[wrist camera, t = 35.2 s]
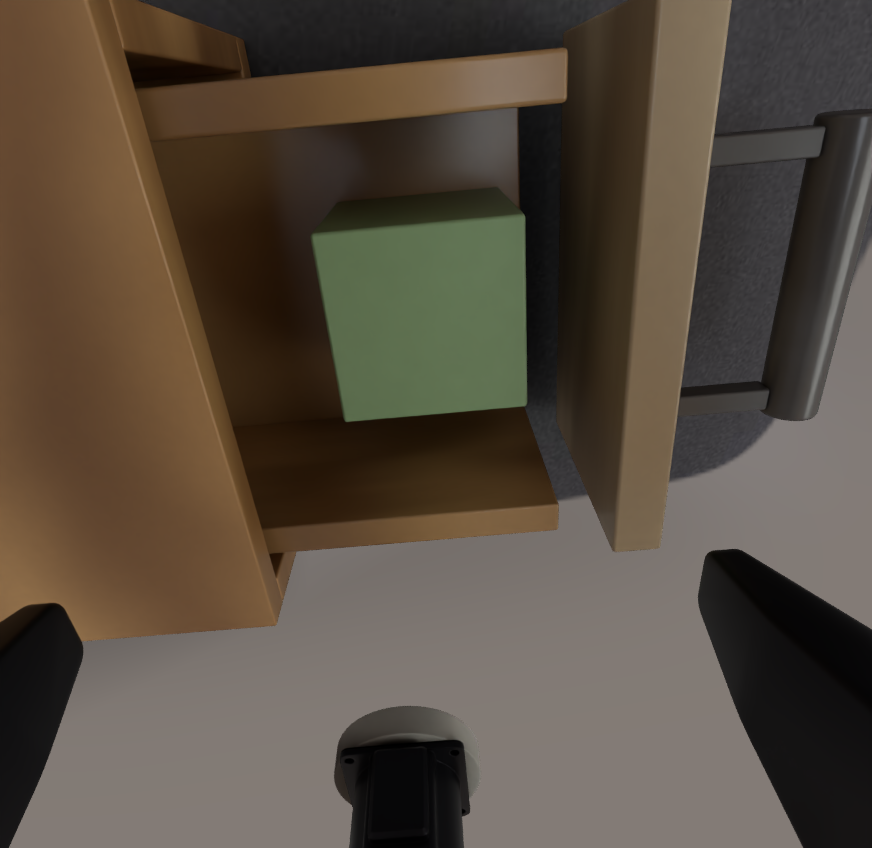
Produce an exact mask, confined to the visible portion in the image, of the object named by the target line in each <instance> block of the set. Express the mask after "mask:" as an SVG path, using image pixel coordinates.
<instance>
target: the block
mask: <svg viewBox="0 0 872 848" xmlns="http://www.w3.org/2000/svg"><path fill="white" fill-rule="evenodd" d="M310 238H311V244H312V249H313V255H314V260H315V266H316V271H317V277H318V282H319V287H320V293H321V298H322V304H323V309H324V315H325V320H326V326H327V331H328V337H329V342H330V347H331V353H332V358H333V364H334V369H335V375H336V380H337V386H338V391H339V397H340V402H341V408H342V413H343V418H344V420H345V421H346V422H351V421H363V420H374V419H385V418H397V417H408V416H420V415H431V414H443V413H454V412H465V411H477V410H488V409H500V408H511V407H523V406H526V405H527V330H526V235H525V215H524V214H523V213H522V212H521V211H520V210H519V209H518V207H517V206H516V205H515V204H514V203H513V202H512V201H511V200H510V199H509V198H508V197H507V196H506V195H505V194H504V193H503V192H502V191H501V190H500V189H499V188H498V187H492V188H482V189H471V190H461V191H450V192H439V193H429V194H418V195H407V196H397V197H386V198H376V199H365V200H354V201H344V202H338V203H336V204H335V206H334V207H333V208H332V209H331V210H330V212H329V213H328V214H327V215H326V217H325V218H324V219H323V220H322V221H321V223H320V224H319V225H318V226H317V227H316V229H315V230H314V231H313V232H312V234H311V237H310Z"/></svg>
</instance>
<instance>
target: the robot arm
mask: <svg viewBox="0 0 872 848" xmlns="http://www.w3.org/2000/svg"><path fill="white" fill-rule="evenodd" d="M698 603H699V608H700V612H701V615H702V618H703V620H704V623H705V626H706V629H707V631H708V634H709V636H710V639H711V642H712V645H713V647H714V650H715V653H716V656H717V658H718V661H719V664H720V667H721V669H722V672H723V675H724V677H725V680H726V683H727V686H728V688H729V691H730V694H731V696H732V699H733V702H734V704H735V706H736V709H737V712H738V714H739V717H740V719H741V721H742V723H743V726H744V728H745V730H746V732H747V734H748V737H749V738H750V741H751V743H752V745H753V747H754V749H755V750H756V752H757V755H758V757H759V759H760V761H761V763H762V765H763V767H764V769H765V771H766V773H767V775H768V777H769V779H770V781H771V783H772V785H773V787H774V789H775V791H776V793H777V795H778V797H779V800H780V801H781V803H782V806H783V808H784V810H785V812H786V814H787V816H788V818H789V820H790V822H791V824H792V826H793V828H794V830H795V832H796V834H797V836H798V838H799V840H800V842H801V844H802V846H803V848H872V629H870V628H868V627H867V626H865V625H864V624H862V623H860V622H859V621H857V620H855V619H854V618H852V617H850V616H849V615H847V614H845V613H844V612H842V611H840V610H839V609H837V608H836V607H834V606H832V605H831V604H829V603H827V602H826V601H824V600H822V599H821V598H819V597H818V596H816V595H814V594H813V593H811V592H809V591H808V590H806V589H804V588H803V587H801V586H799V585H798V584H796V583H794V582H793V581H791V580H790V579H788V578H786V577H785V576H783V575H781V574H780V573H778V572H776V571H775V570H773V569H772V568H770V567H768V566H767V565H765V564H763V563H762V562H760V561H758V560H757V559H755V558H753V557H752V556H750V555H749V554H747V553H745V552H743V551H741V550H738V549H728V550H715V551H711V552H709V553H708V554H707V555H706V557H705V560H704V565H703V571H702V576H701V582H700V587H699V593H698ZM82 658H83V645H82V641H81V639H80V637H79V635H78V633H77V631H76V629H75V628H74V626H73V624H72V622H71V620H70V618H69V616H68V614H67V612H66V610H65V609H64V607H62V606H61V605H60V604H58V603H42V604H31V605H27V606H25V607H23V608H21V609H19V610H18V611H16V612H15V613H13V614H12V615H10V616H9V617H7V618H6V619H4V620H3V621H1V622H0V848H9V846H10V844H11V841H12V839H13V837H14V835H15V833H16V831H17V828H18V826H19V824H20V822H21V819H22V817H23V815H24V813H25V810H26V809H27V806H28V804H29V802H30V800H31V798H32V795H33V793H34V791H35V788H36V786H37V784H38V782H39V779H40V777H41V774H42V772H43V770H44V767H45V764H46V762H47V759H48V756H49V754H50V751H51V748H52V746H53V742H54V740H55V737H56V734H57V731H58V728H59V726H60V723H61V720H62V717H63V714H64V711H65V708H66V705H67V702H68V700H69V697H70V694H71V691H72V688H73V685H74V682H75V679H76V677H77V674H78V671H79V668H80V665H81V662H82ZM340 763H341V767H342V770H343V774H344V778H345V781H346V785H347V789H348V792H349V796H350V800H351V803H352V807H353V813H352V824H351V835H350V845H349V848H464V842H463V826H462V816H465V815H467V814H469V813H470V803H469V793H468V783H467V773H466V763H465V753H464V744H463V742H461V741H459V740H443V741H430V742H417V743H404V744H391V745H378V746H365V747H352V748H345V749H343V750H342V751H341V757H340Z"/></svg>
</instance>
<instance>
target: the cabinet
mask: <svg viewBox="0 0 872 848" xmlns="http://www.w3.org/2000/svg"><path fill="white" fill-rule="evenodd" d="M243 78H251V74H250V69H249V64H248V59H247V54H246V49H245V44H244V41H243V39H241V38H238V37H236V36H233V35H230V34H227V33H225V32H222V31H219V30H217V29H214V28H211V27H208V26H206V25H203V24H200V23H198V22H195V21H192V20H189V19H187V18H184V17H181V16H179V15H176V14H173V13H170V12H168V11H165V10H162V9H160V8H157V7H154V6H151V5H149V4H146V3H143V2H141V1H138V0H0V622H1V621H3V620H4V619H6V618H7V617H9V616H10V615H12V614H13V613H15V612H16V611H18V610H19V609H21V608H23V607H25V606H27V605H31V604H42V603H58V604H60V605H61V606H62V607H64V609H65V610H66V612H67V614H68V616H69V618H70V620H71V622H72V624H73V626H74V628H75V629H76V631H77V633H78V635H79V637H80V639H81V641H92V640H104V639H117V638H127V637H128V638H129V637H141V636H154V635H165V634H179V633H190V632H203V631H216V630H228V629H240V628H253V627H265V626H275V625H276V624H277V621H278V617H279V613H280V610H281V606H282V602H283V601H282V600H283V599H284V595H285V591H286V588H287V584H288V580H289V577H290V573H291V569H292V566H293V562H294V558H295V554H296V552H284V553H271V554H269V552H268V549H267V546H266V542H265V539H264V535H263V532H262V528H261V525H260V521H259V518H258V514H257V511H256V507H255V504H254V501H253V497H252V494H251V490H250V487H249V483H248V480H247V476H246V473H245V469H244V466H243V462H242V459H241V455H240V452H239V449H238V445H237V442H236V438H235V435H234V431H233V428H232V424H231V421H230V417H229V414H228V410H227V407H226V403H225V400H224V397H223V393H222V390H221V386H220V383H219V379H218V376H217V372H216V369H215V365H214V362H213V358H212V355H211V351H210V348H209V345H208V341H207V338H206V334H205V331H204V327H203V324H202V320H201V317H200V313H199V310H198V306H197V303H196V300H195V296H194V293H193V289H192V286H191V282H190V279H189V275H188V272H187V268H186V265H185V261H184V258H183V254H182V251H181V248H180V244H179V241H178V237H177V234H176V230H175V227H174V223H173V220H172V216H171V213H170V209H169V206H168V202H167V199H166V196H165V192H164V189H163V185H162V182H161V178H160V175H159V171H158V168H157V164H156V161H155V157H154V154H153V150H152V147H151V144H150V140H149V137H148V133H147V130H146V126H145V123H144V119H143V116H142V112H141V109H140V105H139V102H138V99H137V95H136V92H135V89H139V88H150V87H160V86H170V85H181V84H191V83H201V82H212V81H222V80H232V79H243Z"/></svg>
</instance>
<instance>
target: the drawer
mask: <svg viewBox="0 0 872 848" xmlns="http://www.w3.org/2000/svg"><path fill="white" fill-rule="evenodd" d="M731 2H732V0H628V1H626V2H624V3H622V4H620V5H618V6H616V7H614V8H612V9H609V10H607V11H605V12H603V13H601V14H599V15H597V16H595V17H593V18H591V19H589V20H587V21H585V22H583V23H581V24H579V25H577V26H575V27H573V28H571V29H569V30H567V31H565V32H564V34H563V48H552V49H542V50H532V51H521V52H511V53H501V54H490V55H480V56H470V57H459V58H449V59H439V60H428V61H418V62H408V63H398V64H387V65H377V66H367V67H356V68H346V69H336V70H325V71H315V72H305V73H294V74H284V75H274V76H263V77H253V78H243V79H232V80H222V81H212V82H201V83H191V84H181V85H170V86H160V87H150V88H139V89H135V92H136V95H137V99H138V102H139V105H140V109H141V112H142V116H143V119H144V123H145V126H146V130H147V133H148V137H149V140H150V144H151V147H152V150H153V154H154V157H155V161H156V164H157V168H158V171H159V175H160V178H161V182H162V185H163V189H164V192H165V196H166V199H167V202H168V206H169V209H170V213H171V216H172V220H173V223H174V227H175V230H176V234H177V237H178V241H179V244H180V248H181V251H182V254H183V258H184V261H185V265H186V268H187V272H188V275H189V279H190V282H191V286H192V289H193V293H194V296H195V300H196V303H197V306H198V310H199V313H200V317H201V320H202V324H203V327H204V331H205V334H206V338H207V341H208V345H209V348H210V351H211V355H212V358H213V362H214V365H215V369H216V372H217V376H218V379H219V383H220V386H221V390H222V393H223V397H224V400H225V403H226V407H227V410H228V414H229V417H230V421H231V424H232V428H233V431H234V435H235V438H236V442H237V445H238V449H239V452H240V455H241V459H242V462H243V466H244V469H245V473H246V476H247V480H248V483H249V487H250V490H251V494H252V497H253V501H254V504H255V507H256V511H257V514H258V518H259V521H260V525H261V528H262V532H263V535H264V539H265V542H266V546H267V549H268V552H269V554H271V553H284V552H296V551H308V550H319V549H332V548H344V547H356V546H368V545H380V544H392V543H404V542H416V541H428V540H440V539H453V538H465V537H477V536H488V535H500V534H513V533H525V532H537V531H548V530H557V529H558V511H559V505H558V502H557V499H556V496H555V493H554V490H553V487H552V485H551V482H550V479H549V476H548V473H547V470H546V467H545V465H544V462H543V459H542V456H541V453H540V450H539V447H538V444H537V442H536V439H535V436H534V433H533V430H532V427H531V424H530V422H529V419H528V416H527V413H526V410H525V407H524V406H523V407H511V408H500V409H488V410H477V411H465V412H454V413H443V414H431V415H420V416H408V417H397V418H385V419H374V420H363V421H351V422H346V421H345V420H344V418H343V413H342V408H341V402H340V397H339V391H338V386H337V380H336V375H335V369H334V364H333V358H332V353H331V347H330V342H329V337H328V331H327V326H326V320H325V315H324V309H323V304H322V298H321V293H320V287H319V282H318V277H317V271H316V266H315V260H314V255H313V249H312V244H311V238H310V237H311V234H312V232H313V231H314V230H315V229H316V227H317V226H318V225H319V224H320V223H321V221H322V220H323V219H324V218H325V217H326V215H327V214H328V213H329V212H330V210H331V209H332V208H333V207H334V206H335V204H336V203H338V202H344V201H354V200H365V199H376V198H386V197H397V196H407V195H418V194H429V193H439V192H450V191H461V190H471V189H482V188H492V187H498V188H499V189H500V190H501V191H502V192H503V193H504V194H505V195H506V196H507V197H508V198H509V199H510V200H511V201H512V202H513V203H514V204H515V205H516V206H517V207H518V209H519V210H520V169H519V107H527V106H537V105H548V104H558V103H562V128H561V184H560V241H559V297H558V353H557V409H556V422H557V424H558V426H559V429H560V431H561V433H562V435H563V438H564V440H565V442H566V445H567V447H568V449H569V452H570V454H571V456H572V459H573V461H574V463H575V465H576V468H577V470H578V472H579V475H580V477H581V479H582V482H583V484H584V486H585V488H586V491H587V493H588V495H589V498H590V500H591V502H592V505H593V507H594V509H595V511H596V513H597V516H598V518H599V521H600V523H601V525H602V528H603V530H604V532H605V534H606V537H607V539H608V541H609V544H610V546H611V548H612V550H613V551H614V552H623V551H635V550H647V549H657V548H660V544H661V537H662V529H663V521H664V514H665V506H666V498H667V491H668V483H669V476H670V468H671V460H672V453H673V445H674V437H675V430H676V422H677V417H682V416H694V415H706V414H717V413H729V412H741V411H752V410H760V411H761V412H763V413H764V414H766V415H768V416H771V417H774V418H777V419H781V420H789V421H803V420H808V419H811V418H813V417H814V416H815V415H816V414H817V412H818V409H819V405H820V401H821V397H822V393H823V389H824V385H825V382H826V378H827V374H828V370H829V366H830V362H831V359H832V355H833V351H834V347H835V343H836V340H837V336H838V332H839V328H840V324H841V320H842V317H843V313H844V309H845V305H846V301H847V298H848V294H849V290H850V286H851V282H852V278H853V275H854V271H855V267H856V263H857V259H858V255H859V252H860V248H861V244H862V240H863V236H864V233H865V229H866V225H867V221H868V217H869V213H870V210H871V206H872V109H857V110H843V111H832V112H824V113H820V114H818V115H817V116H816V117H815V119H814V124H813V125H806V126H796V127H785V128H774V129H764V130H753V131H742V132H732V133H721V134H714V132H715V124H716V117H717V109H718V101H719V94H720V86H721V78H722V71H723V63H724V56H725V48H726V40H727V33H728V25H729V17H730V10H731ZM798 159H806V164H805V169H804V173H803V178H802V183H801V188H800V193H799V198H798V203H797V208H796V213H795V218H794V223H793V228H792V233H791V237H790V242H789V247H788V252H787V257H786V262H785V267H784V272H783V277H782V282H781V287H780V292H779V297H778V302H777V306H776V311H775V316H774V321H773V326H772V331H771V336H770V341H769V346H768V351H767V356H766V361H765V366H764V371H763V375H762V380H761V382H759V381H753V382H741V383H729V384H718V385H706V386H695V387H683V388H681V384H682V376H683V369H684V361H685V353H686V346H687V338H688V330H689V323H690V315H691V308H692V300H693V292H694V285H695V277H696V269H697V262H698V254H699V246H700V239H701V231H702V224H703V216H704V208H705V201H706V193H707V185H708V178H709V170H710V168H712V167H723V166H733V165H744V164H755V163H766V162H776V161H787V160H798Z"/></svg>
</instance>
